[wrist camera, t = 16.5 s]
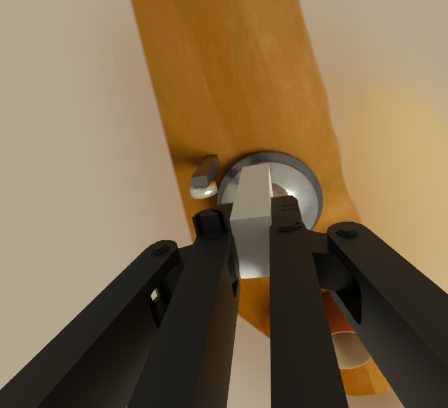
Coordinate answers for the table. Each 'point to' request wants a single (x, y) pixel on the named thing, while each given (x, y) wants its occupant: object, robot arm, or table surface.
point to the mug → (344, 337)
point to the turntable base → (273, 157)
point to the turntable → (290, 182)
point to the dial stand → (205, 178)
